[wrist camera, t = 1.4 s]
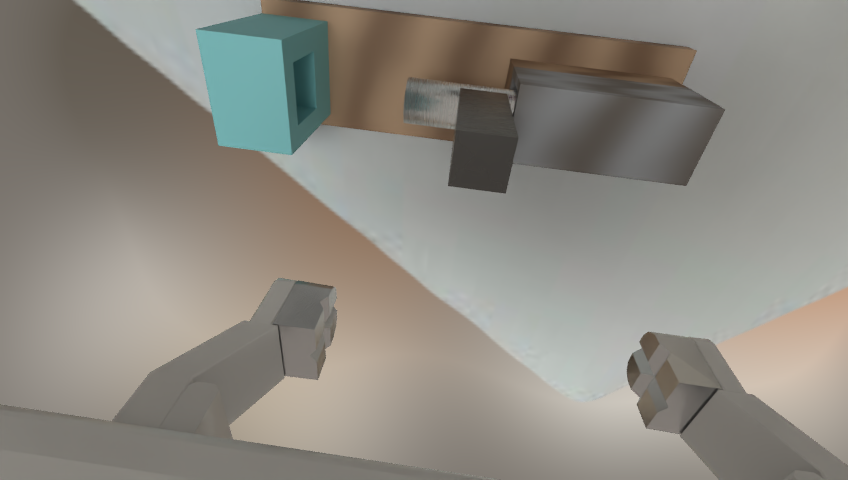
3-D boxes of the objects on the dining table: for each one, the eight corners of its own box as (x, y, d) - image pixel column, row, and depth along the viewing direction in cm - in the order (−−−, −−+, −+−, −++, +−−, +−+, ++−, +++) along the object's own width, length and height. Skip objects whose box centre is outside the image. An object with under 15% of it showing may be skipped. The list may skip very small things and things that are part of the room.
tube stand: (687, 47, 31) (761, 76, 23) (640, 159, 36) (687, 214, 28) (268, -4, 32) (201, 7, 24) (280, 112, 37) (228, 153, 29)
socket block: (327, 21, 31) (281, 39, 23) (330, 113, 35) (291, 154, 27) (262, 13, 31) (195, 29, 24) (272, 106, 35) (218, 145, 27)
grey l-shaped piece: (672, 104, 28) (762, 169, 19) (654, 146, 30) (729, 222, 21) (411, 72, 28) (384, 120, 20) (408, 115, 30) (381, 177, 21)
